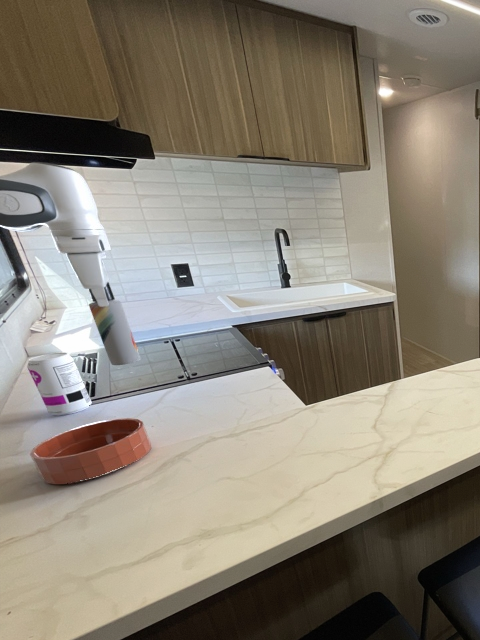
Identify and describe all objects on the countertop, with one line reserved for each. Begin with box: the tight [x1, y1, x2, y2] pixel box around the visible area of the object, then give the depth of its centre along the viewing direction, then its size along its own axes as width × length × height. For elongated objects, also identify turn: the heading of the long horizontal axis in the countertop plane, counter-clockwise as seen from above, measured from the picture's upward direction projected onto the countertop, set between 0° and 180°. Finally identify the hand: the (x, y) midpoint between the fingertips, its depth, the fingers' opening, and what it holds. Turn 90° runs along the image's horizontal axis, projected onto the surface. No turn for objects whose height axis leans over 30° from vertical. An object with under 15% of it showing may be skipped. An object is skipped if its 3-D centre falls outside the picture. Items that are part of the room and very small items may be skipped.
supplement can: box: [26, 352, 93, 416], centre depth 105 cm, size 8×8×15 cm
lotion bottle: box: [87, 281, 141, 366], centre depth 98 cm, size 6×6×20 cm
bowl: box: [29, 417, 152, 485], centre depth 81 cm, size 16×16×6 cm
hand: (105, 304), depth 96 cm, fingers closed on lotion bottle, 5 cm apart
